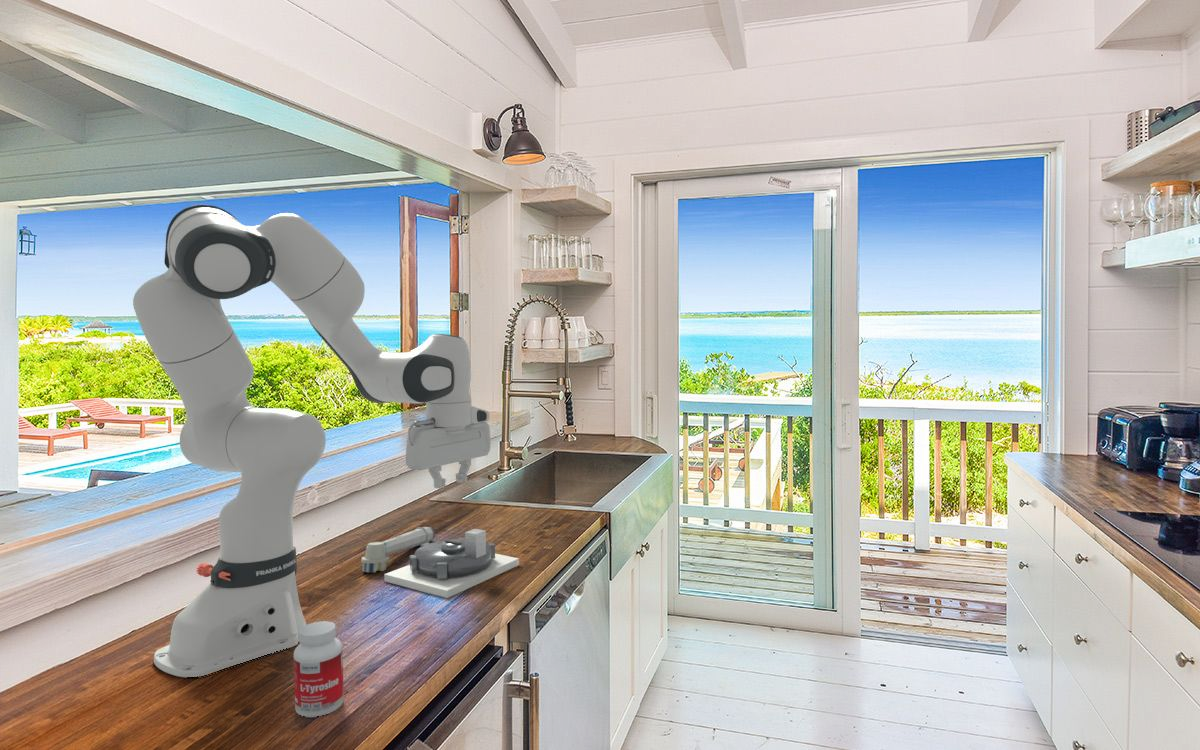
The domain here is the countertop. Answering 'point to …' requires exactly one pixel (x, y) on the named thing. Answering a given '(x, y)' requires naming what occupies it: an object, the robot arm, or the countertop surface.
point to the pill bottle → (318, 670)
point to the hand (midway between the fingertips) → (450, 484)
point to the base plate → (449, 578)
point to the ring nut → (454, 556)
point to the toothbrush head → (393, 548)
